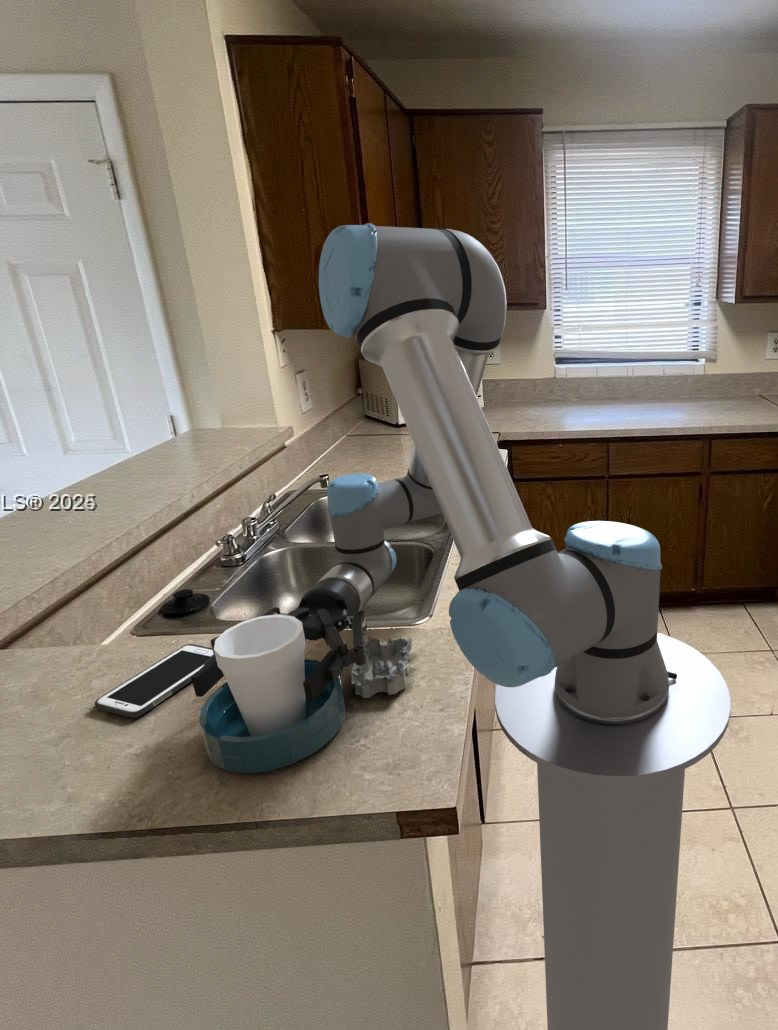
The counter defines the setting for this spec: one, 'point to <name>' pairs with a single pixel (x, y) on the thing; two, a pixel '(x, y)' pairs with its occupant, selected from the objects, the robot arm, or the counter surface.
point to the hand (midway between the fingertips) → (251, 690)
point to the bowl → (275, 750)
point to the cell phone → (155, 682)
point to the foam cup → (265, 671)
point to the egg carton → (382, 667)
